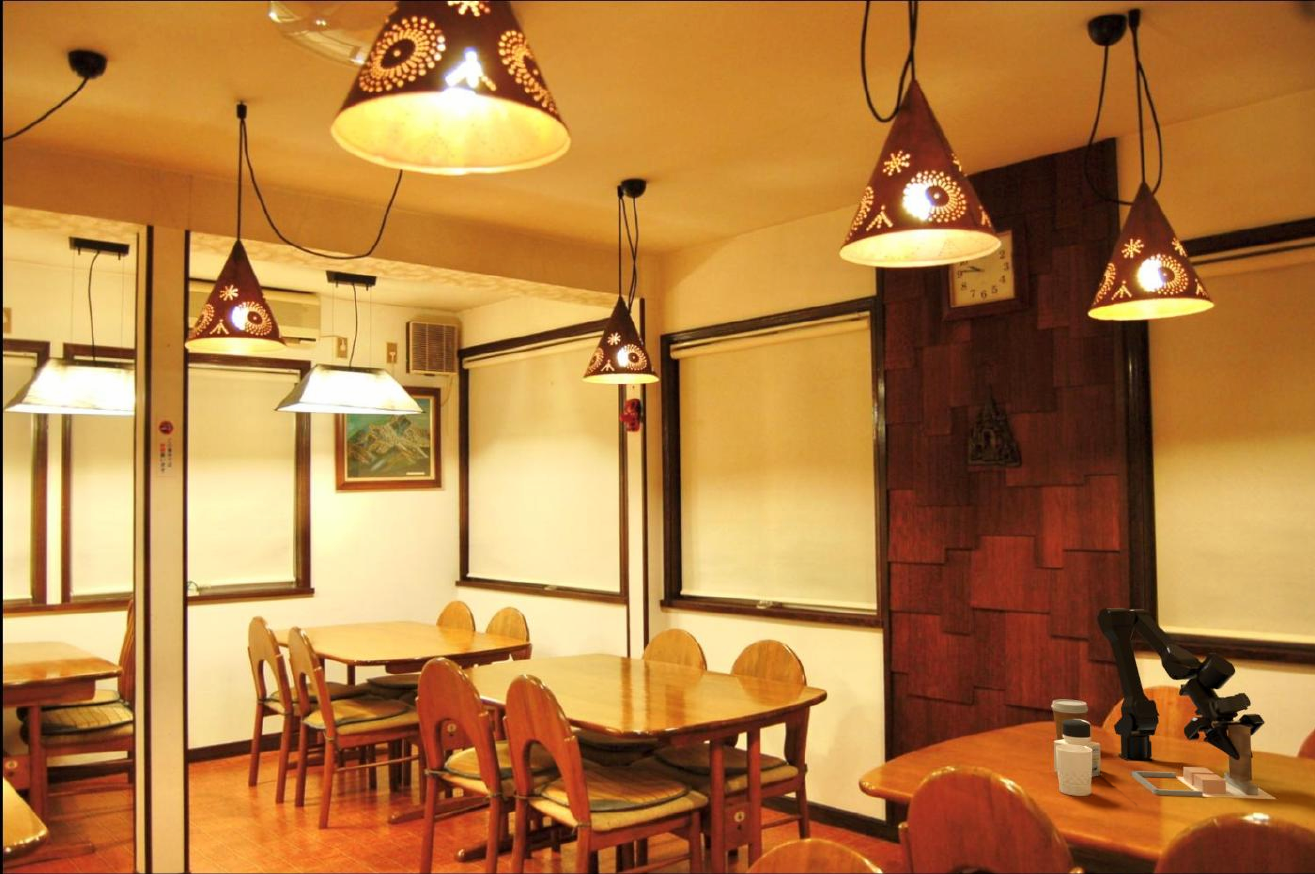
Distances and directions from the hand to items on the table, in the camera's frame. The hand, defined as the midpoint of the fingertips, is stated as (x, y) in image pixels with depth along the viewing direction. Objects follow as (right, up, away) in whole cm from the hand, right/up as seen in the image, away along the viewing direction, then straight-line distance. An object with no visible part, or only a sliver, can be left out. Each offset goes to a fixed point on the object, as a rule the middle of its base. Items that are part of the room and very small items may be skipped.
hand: (1244, 758), depth 238 cm
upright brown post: (0, -7, +1) cm, 7 cm away
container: (-31, -9, +18) cm, 37 cm away
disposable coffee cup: (-22, -11, +46) cm, 52 cm away
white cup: (-38, -8, +1) cm, 39 cm away
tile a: (-9, -7, -1) cm, 11 cm away
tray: (-17, -8, +3) cm, 19 cm away
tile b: (-8, -7, +5) cm, 12 cm away
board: (-4, -8, +1) cm, 9 cm away
